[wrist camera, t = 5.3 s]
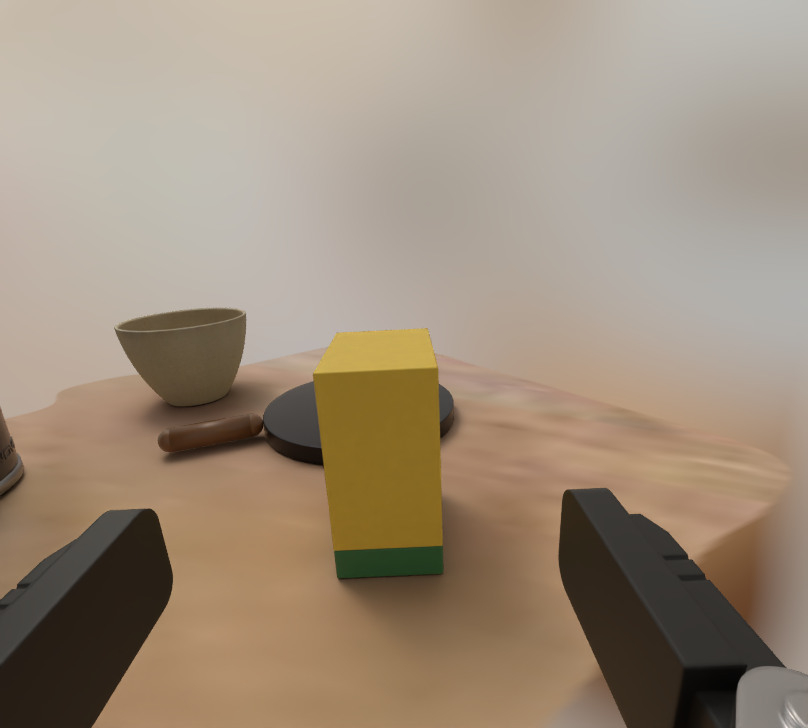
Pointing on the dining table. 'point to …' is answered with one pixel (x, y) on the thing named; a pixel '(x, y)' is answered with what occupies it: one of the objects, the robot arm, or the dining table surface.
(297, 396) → the pan
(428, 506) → the sponge
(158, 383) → the beige bowl
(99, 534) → the robot arm
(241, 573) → the dining table surface
